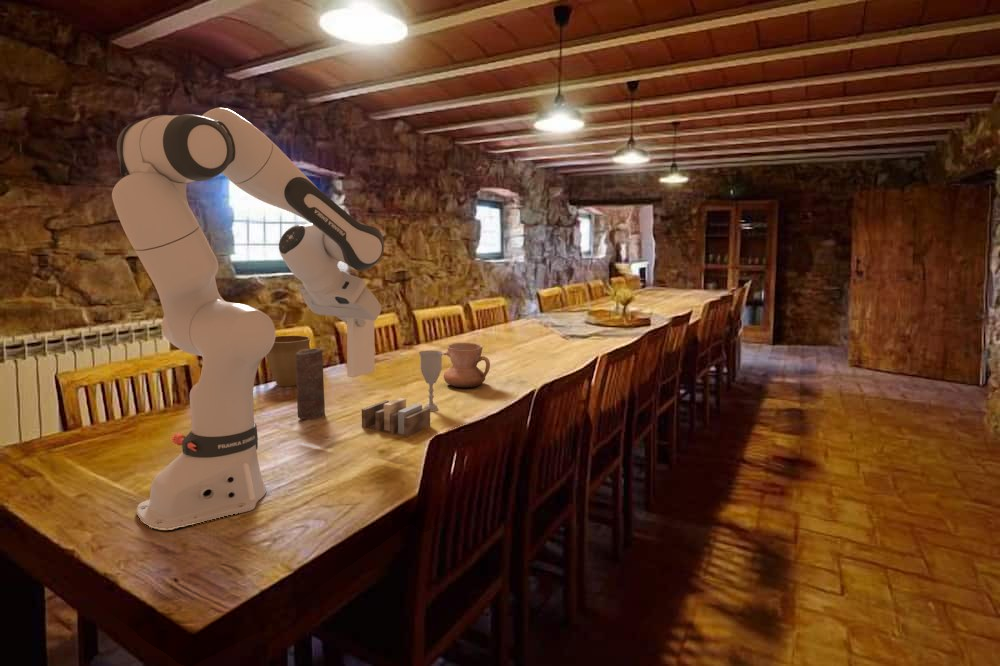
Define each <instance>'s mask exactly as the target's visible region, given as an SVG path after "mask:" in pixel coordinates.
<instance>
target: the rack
mask: <svg viewBox="0 0 1000 666" xmlns="http://www.w3.org/2000/svg"><path fill="white" fill-rule="evenodd" d="M388 402H390V401H389V400H387V399H385V400H383V401H380V402H378V403H375V404H372V405H370V406H369V405H368V406H367V407H364V408H361V428H362V429H368V430H371V431H376V432H381V433H384V434H385V433H387V434H391V435H395V436H400V437H405V438H410V437H412V436H414V435H416V434H418V433H420V432H422V431H424V430H427V428H430V427H431V411H430V408H425V407H424V408H425V409H424V408H422V410H420V411H418V412H416V413H413V414H411V415H409V416H407V417H404V435H403V434H398V411H397V412H395V413H393V414H390V431H388V430H384V404H385V403H388Z"/></svg>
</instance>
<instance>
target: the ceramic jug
mask: <svg viewBox="0 0 1000 666" xmlns="http://www.w3.org/2000/svg"><path fill="white" fill-rule="evenodd" d="M442 352H443V355H442V356H447V357H448V358H449V359H450V361H451V364H452V366H451V367H450V368H448V369H447V370H445V371H444V372H443V373H444V374H443V380H444V381H445V383H446V384H448V385H449V386H451V387H455V388H461V389H462V388H463V389H465V388H474V387H477V386H478V387H479V386H480V385H482V384H483V383H484V382H485V380H486V377H487V376H488V373H489V371H490V367H491V362H490V359H489V358H488V357H487V356H483V355H482V353H483V345H482V344H479V343H474V342H453V343H449V344H448V345H447V350H445V351H442ZM481 355H482V356H481ZM482 361H484V363H485V369H484V371H482V370H481V369H480V368H479V367H477V365H478V364H479V363H480V362H482Z"/></svg>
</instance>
